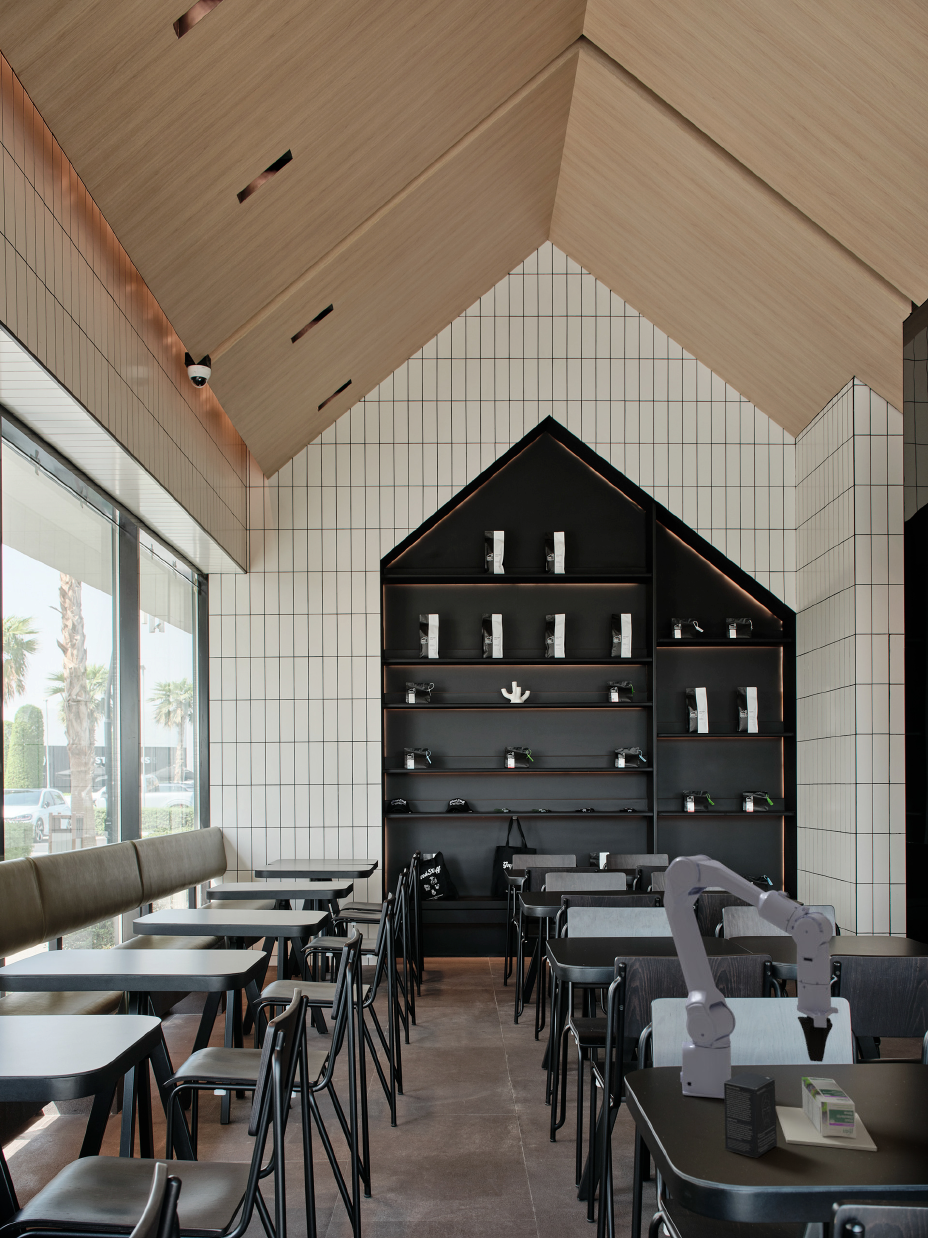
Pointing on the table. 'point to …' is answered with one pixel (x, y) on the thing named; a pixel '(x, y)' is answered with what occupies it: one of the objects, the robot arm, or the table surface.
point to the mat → (805, 1132)
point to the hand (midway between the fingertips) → (815, 1060)
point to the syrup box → (828, 1107)
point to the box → (750, 1114)
